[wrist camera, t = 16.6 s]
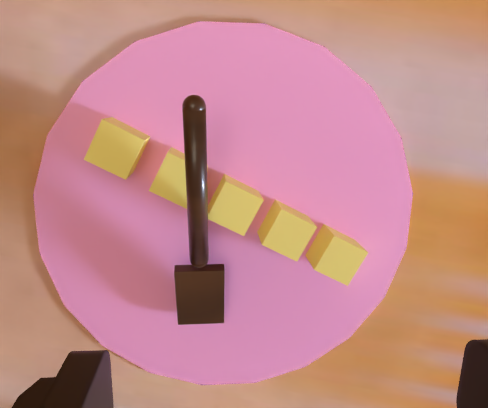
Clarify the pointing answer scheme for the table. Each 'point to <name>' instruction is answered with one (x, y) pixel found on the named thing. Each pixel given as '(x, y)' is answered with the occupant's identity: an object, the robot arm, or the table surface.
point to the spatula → (198, 229)
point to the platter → (224, 201)
